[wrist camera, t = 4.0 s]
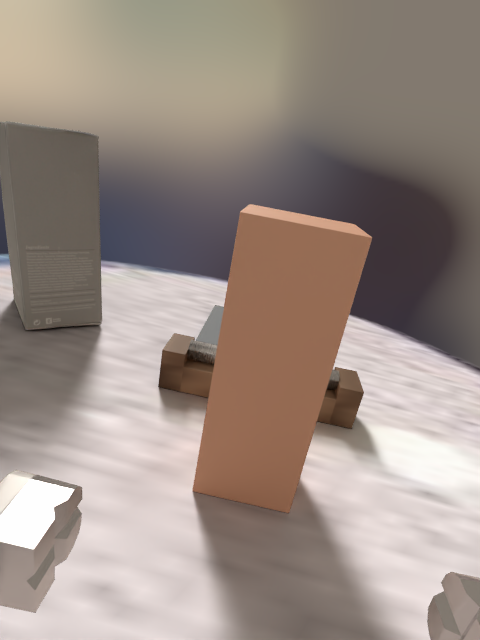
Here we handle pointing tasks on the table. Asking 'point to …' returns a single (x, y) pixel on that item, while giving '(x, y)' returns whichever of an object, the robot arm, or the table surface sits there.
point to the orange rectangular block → (276, 352)
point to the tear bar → (197, 368)
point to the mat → (212, 327)
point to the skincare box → (52, 224)
